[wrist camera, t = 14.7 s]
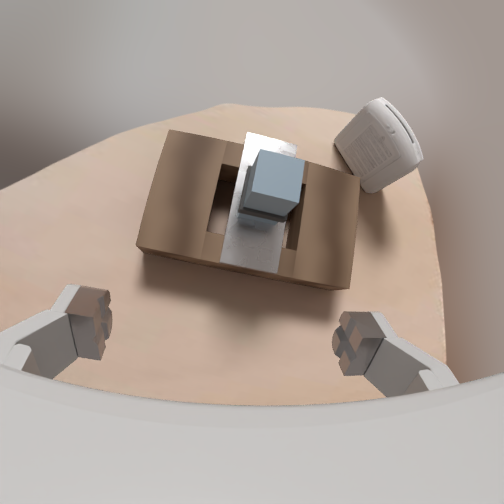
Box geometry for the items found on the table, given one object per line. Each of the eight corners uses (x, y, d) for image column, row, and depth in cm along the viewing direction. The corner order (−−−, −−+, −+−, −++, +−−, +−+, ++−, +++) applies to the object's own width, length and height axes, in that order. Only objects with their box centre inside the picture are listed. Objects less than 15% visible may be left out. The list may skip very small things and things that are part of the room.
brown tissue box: (143, 252, 36) (135, 245, 31) (171, 148, 39) (169, 129, 34) (331, 290, 40) (349, 288, 35) (343, 190, 42) (360, 177, 37)
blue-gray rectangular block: (234, 218, 33) (247, 193, 25) (243, 178, 33) (257, 144, 26) (277, 228, 33) (301, 207, 25) (283, 188, 34) (308, 158, 26)
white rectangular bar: (217, 266, 36) (219, 261, 32) (242, 147, 38) (247, 132, 34) (268, 276, 36) (277, 273, 32) (287, 159, 39) (297, 145, 35)
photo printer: (385, 187, 44) (436, 156, 32) (366, 199, 43) (417, 167, 31) (348, 130, 44) (389, 86, 32) (328, 139, 43) (367, 93, 31)
